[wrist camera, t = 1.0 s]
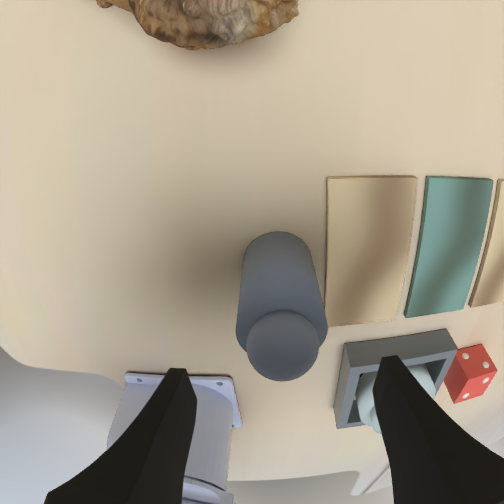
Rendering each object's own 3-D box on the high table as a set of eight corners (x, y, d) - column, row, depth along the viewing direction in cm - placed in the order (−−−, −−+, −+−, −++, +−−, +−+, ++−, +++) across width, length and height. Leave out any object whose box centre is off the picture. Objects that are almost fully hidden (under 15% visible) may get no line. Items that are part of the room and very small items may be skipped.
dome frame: (333, 407, 26) (336, 428, 24) (344, 343, 22) (350, 367, 20) (418, 393, 25) (425, 412, 23) (446, 328, 21) (458, 349, 19)
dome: (349, 408, 24) (356, 443, 21) (360, 362, 21) (371, 402, 18) (414, 396, 24) (425, 429, 20) (434, 350, 21) (451, 385, 17)
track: (323, 323, 21) (324, 327, 20) (326, 177, 16) (328, 179, 16) (510, 296, 19) (513, 298, 19) (541, 183, 15) (544, 185, 14)
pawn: (247, 291, 20) (238, 403, 12) (240, 233, 18) (223, 338, 10) (311, 288, 19) (331, 397, 12) (311, 229, 17) (340, 331, 10)
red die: (441, 376, 24) (454, 404, 21) (453, 350, 22) (468, 379, 19) (469, 368, 24) (482, 395, 21) (482, 343, 22) (498, 370, 19)
